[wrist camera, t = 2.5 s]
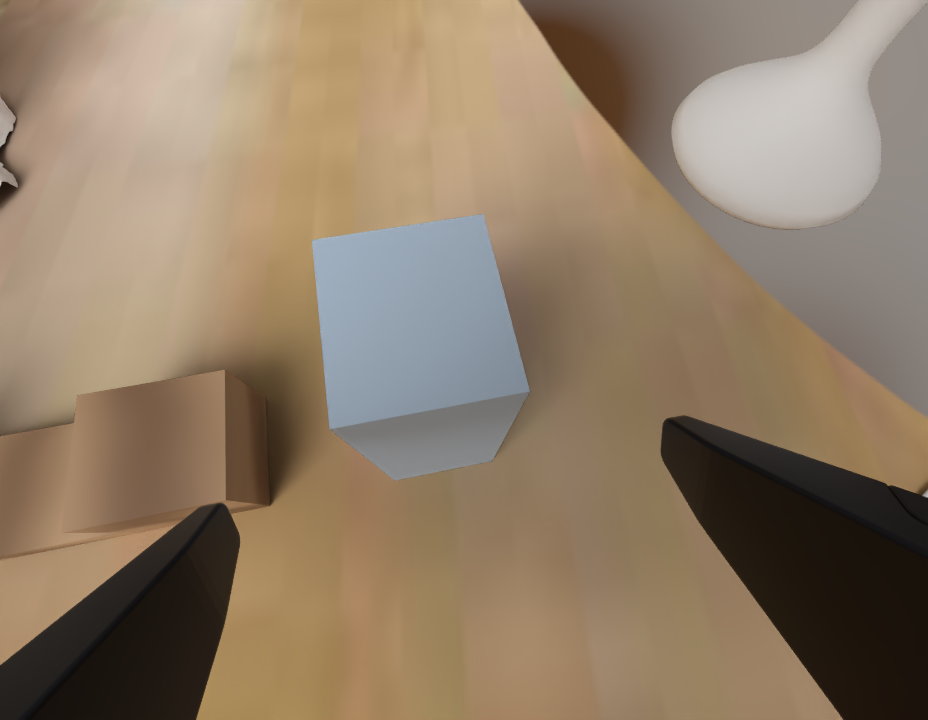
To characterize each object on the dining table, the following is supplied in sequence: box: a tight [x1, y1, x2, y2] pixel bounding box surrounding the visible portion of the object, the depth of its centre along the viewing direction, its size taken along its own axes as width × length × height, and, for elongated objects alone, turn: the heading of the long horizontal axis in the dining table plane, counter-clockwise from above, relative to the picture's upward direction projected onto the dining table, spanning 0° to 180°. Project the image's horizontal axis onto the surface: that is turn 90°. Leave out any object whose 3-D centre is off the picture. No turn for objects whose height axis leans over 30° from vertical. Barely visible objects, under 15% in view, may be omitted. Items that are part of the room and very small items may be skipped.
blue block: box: [312, 214, 530, 481], centre depth 16 cm, size 5×4×11 cm
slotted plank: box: [0, 370, 270, 560], centre depth 18 cm, size 18×5×4 cm, turn 101°
